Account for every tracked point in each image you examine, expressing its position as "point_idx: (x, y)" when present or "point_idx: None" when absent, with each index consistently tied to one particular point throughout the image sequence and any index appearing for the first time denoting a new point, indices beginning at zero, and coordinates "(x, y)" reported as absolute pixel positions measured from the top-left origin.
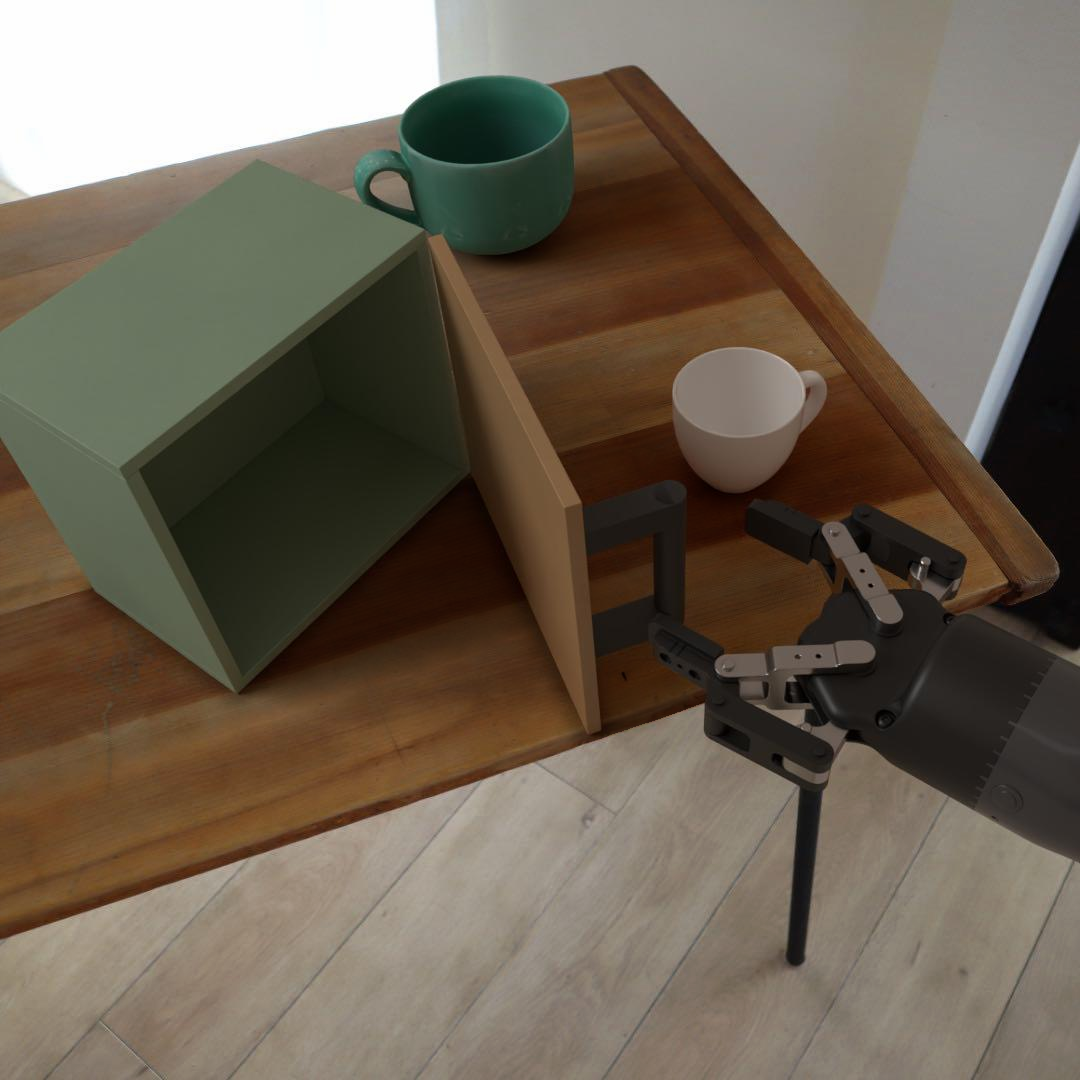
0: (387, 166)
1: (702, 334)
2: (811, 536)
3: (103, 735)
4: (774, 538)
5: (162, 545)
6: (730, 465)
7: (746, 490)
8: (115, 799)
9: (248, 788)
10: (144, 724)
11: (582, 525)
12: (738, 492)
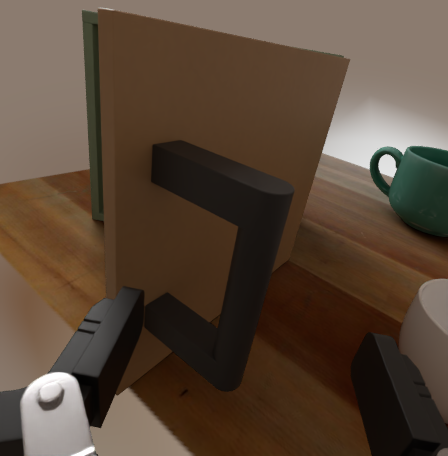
0: (391, 152)
1: None
2: (412, 437)
3: (56, 193)
4: (369, 400)
5: (87, 86)
6: (426, 363)
7: None
8: (18, 203)
9: (29, 236)
10: (66, 200)
11: (112, 64)
12: None
